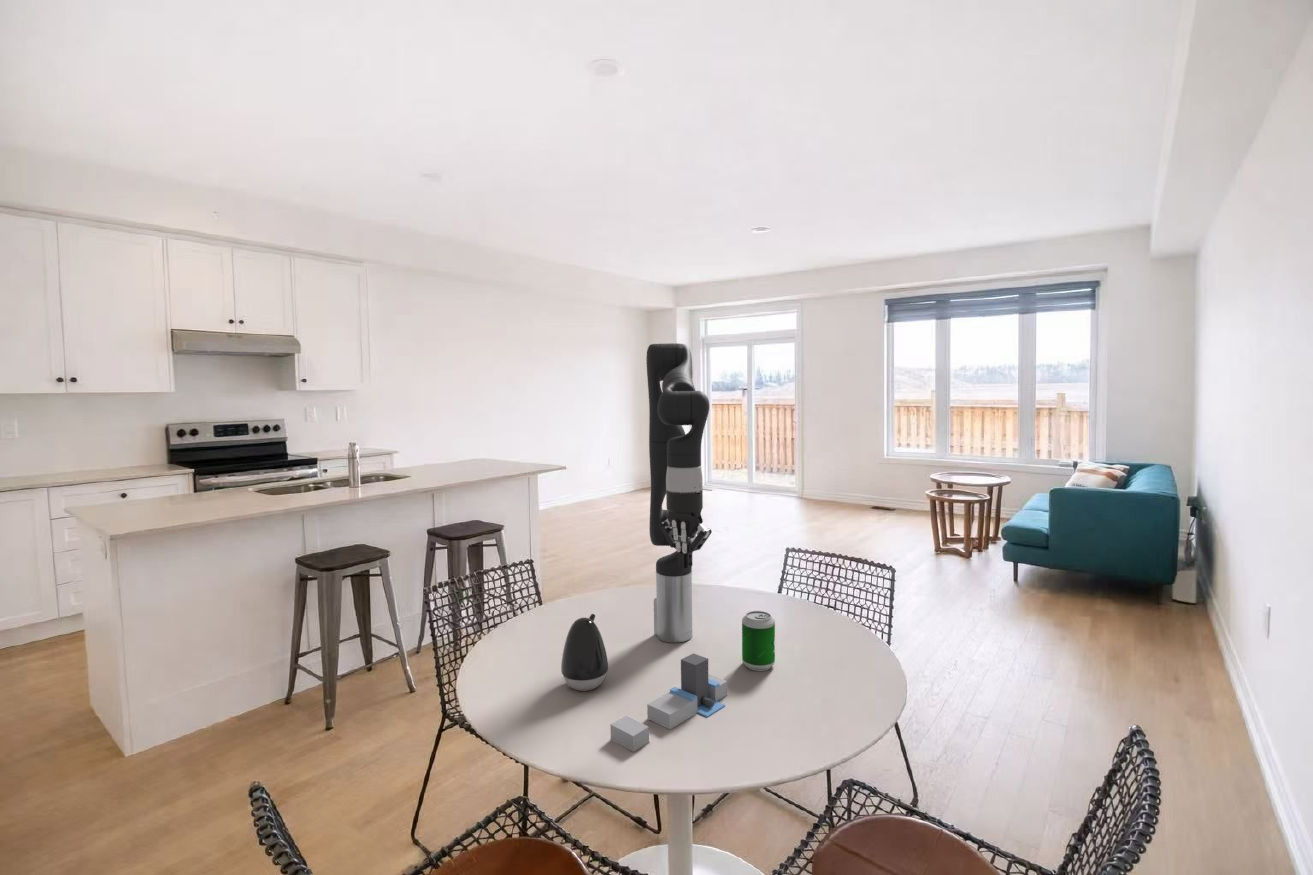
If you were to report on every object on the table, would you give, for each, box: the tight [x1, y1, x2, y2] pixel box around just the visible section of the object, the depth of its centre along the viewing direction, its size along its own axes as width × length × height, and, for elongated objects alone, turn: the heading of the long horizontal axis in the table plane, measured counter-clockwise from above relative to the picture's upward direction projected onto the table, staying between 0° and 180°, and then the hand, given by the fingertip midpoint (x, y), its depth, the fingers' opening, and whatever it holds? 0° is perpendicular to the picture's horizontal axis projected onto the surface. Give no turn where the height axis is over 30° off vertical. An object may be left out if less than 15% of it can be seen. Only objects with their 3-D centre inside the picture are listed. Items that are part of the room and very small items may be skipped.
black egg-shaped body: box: [560, 613, 609, 692], centre depth 142 cm, size 10×10×15 cm
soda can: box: [741, 610, 776, 672], centre depth 150 cm, size 8×8×12 cm
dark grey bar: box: [680, 652, 714, 708], centre depth 133 cm, size 6×4×9 cm, turn 47°
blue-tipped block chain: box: [610, 673, 728, 752], centre depth 129 cm, size 11×28×4 cm, turn 137°
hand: (685, 569), depth 136 cm, fingers closed
